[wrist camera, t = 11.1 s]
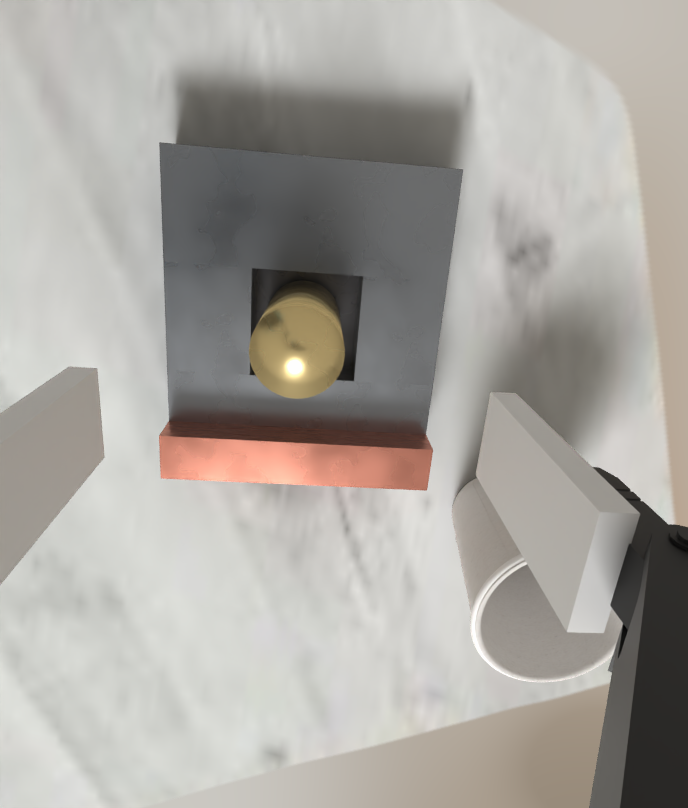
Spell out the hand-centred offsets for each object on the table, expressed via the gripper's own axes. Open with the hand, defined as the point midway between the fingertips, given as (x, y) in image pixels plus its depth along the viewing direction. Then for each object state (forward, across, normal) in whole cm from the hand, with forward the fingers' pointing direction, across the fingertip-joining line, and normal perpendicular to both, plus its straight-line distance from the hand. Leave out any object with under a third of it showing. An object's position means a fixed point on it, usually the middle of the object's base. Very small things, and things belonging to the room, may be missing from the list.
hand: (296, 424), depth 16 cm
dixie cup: (+16, +13, -12) cm, 24 cm away
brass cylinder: (+16, 0, 0) cm, 16 cm away
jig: (+16, 0, 0) cm, 16 cm away
